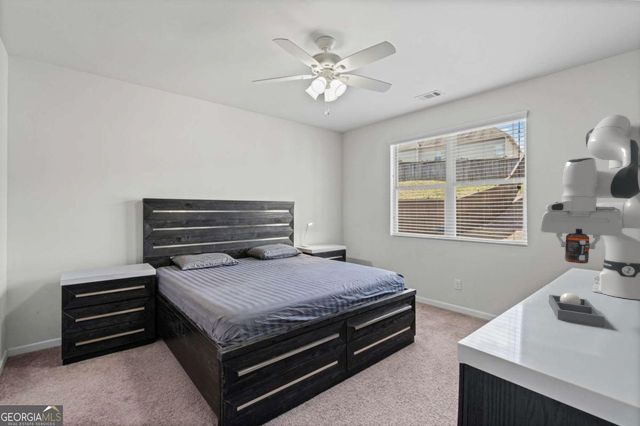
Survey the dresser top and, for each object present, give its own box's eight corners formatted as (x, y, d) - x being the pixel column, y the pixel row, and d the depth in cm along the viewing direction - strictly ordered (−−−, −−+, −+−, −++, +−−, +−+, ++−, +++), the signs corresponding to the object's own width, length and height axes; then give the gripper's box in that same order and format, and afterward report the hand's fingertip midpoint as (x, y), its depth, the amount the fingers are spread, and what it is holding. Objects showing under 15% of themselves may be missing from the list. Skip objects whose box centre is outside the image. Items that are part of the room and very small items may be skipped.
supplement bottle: (589, 264, 96) (590, 229, 95) (565, 262, 99) (566, 228, 99) (587, 262, 100) (588, 228, 100) (564, 260, 104) (565, 227, 104)
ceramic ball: (558, 305, 108) (558, 290, 108) (578, 308, 105) (579, 292, 105) (561, 309, 103) (561, 293, 103) (582, 313, 100) (582, 296, 100)
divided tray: (548, 304, 111) (549, 294, 111) (586, 309, 106) (586, 299, 106) (557, 321, 94) (557, 309, 94) (603, 328, 88) (603, 316, 88)
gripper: (618, 207, 97) (616, 250, 97) (540, 206, 108) (538, 244, 108) (624, 206, 92) (623, 251, 92) (542, 205, 102) (540, 245, 102)
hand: (577, 247), depth 100 cm, fingers closed on supplement bottle, 6 cm apart
